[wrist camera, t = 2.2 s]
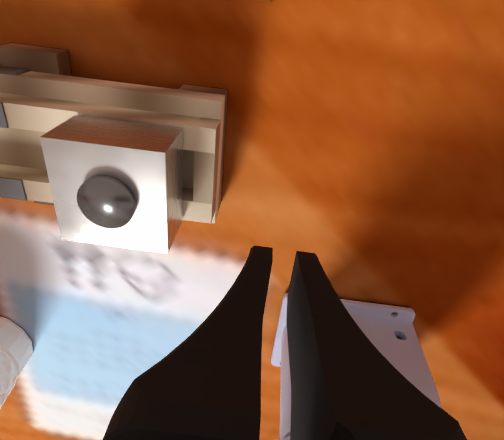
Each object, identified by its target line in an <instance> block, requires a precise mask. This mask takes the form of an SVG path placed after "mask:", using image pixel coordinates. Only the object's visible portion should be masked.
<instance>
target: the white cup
mask: <svg viewBox="0 0 504 440" xmlns="http://www.w3.org/2000/svg"><path fill="white" fill-rule="evenodd" d="M32 354H33V346H32V341H31V339H30V338H29V337H28V335H27V334H26V333H25V331H24V330H23V329H22V328H20V327H19V326H18V325H16V324H15V323H13V322H12V321H10V320H9V319H7V318H4V317H1V316H0V409H1V408H2V406H3V404H4V403H5V401H6V399H7V397H8V396H9V394H10V392H11V390H12V389H13V387H14V385H15V382H16V380H17V378H18V377H19V375H20V373H21V371H22V370H23V368H24V367H25V365H26V364H27V362H28V360H29V359H30V357H31V356H32Z"/></svg>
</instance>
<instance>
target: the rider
mask: <svg viewBox="0 0 504 440" xmlns="http://www.w3.org/2000/svg"><path fill="white" fill-rule="evenodd" d="M40 141H41V145H42V150H43V155H44V159H45V164H46V169H47V174H48V178H49V183H50V188H51V192H52V197H53V202H54V206H55V211H56V216H57V221H58V225H59V230H60V235H61V239H62V240H68V241H75V242H83V243H91V244H98V245H106V246H114V247H121V248H129V249H137V250H144V251H152V252H160V253H167V254H168V252H169V250H170V247H171V245H172V243H173V241H174V238H175V236H176V234H177V232H178V229H179V227H180V225H181V223H182V220H183V128H179V127H171V126H163V125H155V124H147V123H139V122H131V121H123V120H115V119H107V118H99V117H91V116H84V115H74V116H73V117H71V118H70V119H68V120H66V121H65V122H63V123H61V124H60V125H58V126H57V127H55V128H53V129H52V130H50V131H49V132H47V133H45V134H44V135H42V136H40Z"/></svg>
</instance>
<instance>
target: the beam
mask: <svg viewBox="0 0 504 440" xmlns="http://www.w3.org/2000/svg"><path fill="white" fill-rule="evenodd" d="M0 63H1V66H0V197H2V198H10V199H17V200H25V201H26V200H33V201H34V202H35V203H40V204H48V205H54V202H53V197H52V192H51V188H50V183H49V178H48V174H47V169H46V164H45V159H44V155H43V150H42V145H41V141H40V136H42V135H44V134H45V133H47V132H49V131H50V130H52V129H53V128H55V127H57V126H58V125H60V124H61V123H63V122H65V121H66V120H68V119H70V118H71V117H73V116H74V115H84V116H91V117H99V118H107V119H115V120H123V121H131V122H139V123H147V124H155V125H163V126H171V127H179V128H183V220H188V221H196V222H204V223H215V221H216V218H217V214H218V211H219V208H220V204H221V194H222V179H223V164H224V148H225V133H226V117H227V102H228V89H220V88H211V87H203V86H195V85H187V84H183V85H182V86H181V87H180V88H179V89H171V88H163V87H155V86H147V85H139V84H131V83H123V82H115V81H107V80H99V79H91V78H83V77H74V76H72V73H71V67H70V60H69V53H68V50H65V49H57V48H49V47H41V46H32V45H24V44H16V43H9V44H4V45H0Z"/></svg>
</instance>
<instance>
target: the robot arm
mask: <svg viewBox="0 0 504 440" xmlns="http://www.w3.org/2000/svg"><path fill="white" fill-rule="evenodd" d="M271 266H272V248H269V247H261V246H253V247H252V248H251V250H250V253H249V256H248V259H247V261H246V263H245V265H244V267H243V269H242V271H241V272H240V274H239V276H238V277H237V279H236V281H235V282H234V284H233V285H232V287H231V288H230V290H229V291H228V292H227V294H226V295H225V297H224V298H223V299H222V301H221V302H220V303H219V305H218V306H217V307H216V308H215V309H214V311H213V312H212V313H211V314H210V315H209V316H208V318H207V319H206V320H205V321H204V322H203V323H202V324H201V325H200V326H199V327H198V328H197V329H196V330H195V331H194V332H193V333H192V334H191V335H190V336H189V337H188V338H187V339H186V340H185V341H184V342H182V343H181V344H180V345H179V346H178V347H176V348H175V349H174V350H173V351H172V352H171V353H169V354H168V355H167V356H166V357H165V358H163V359H162V360H161V361H159V362H158V363H157V364H155V365H154V366H153V367H151V368H150V369H148V370H147V371H146V372H144V373H143V374H141V375H140V376H139V377H137V378H136V379H135V380H134V381H133V382H132V384H131V385H130V387H129V388H128V390H127V391H126V393H125V394H124V396H123V398H122V399H121V401H120V403H119V404H118V406H117V408H116V410H115V412H114V414H113V416H112V418H111V420H110V423H109V425H108V428H107V430H106V433H105V435H104V438H103V440H259V434H260V417H261V348H262V323H263V314H264V308H265V302H266V296H267V290H268V284H269V278H270V272H271ZM393 312H395V313H393ZM414 318H415V312H414V310H413V309H411V308H406V307H398V306H391V305H383V304H376V303H368V302H360V301H353V300H345V299H340V298H339V297H338V295H337V293H336V292H335V290H334V288H333V287H332V285H331V283H330V281H329V279H328V278H327V276H326V274H325V272H324V270H323V268H322V266H321V264H320V262H319V260H318V257H317V256H316V254H315V253H308V252H300V251H297V252H296V257H295V262H294V266H293V271H292V276H291V281H290V286H289V290H288V293H286V294H285V295H284V296H283V301H282V306H281V311H280V316H279V321H278V326H277V331H276V336H275V341H274V346H273V351H272V356H271V364H272V365H274V366H278V367H281V392H280V439H279V440H467V439H466V437H465V435H464V433H463V431H462V429H461V427H460V425H459V423H458V421H457V420H455V419H454V418H453V417H452V416H450V415H449V414H448V413H447V412H445V411H444V410H443V409H442V408H441V403H440V399H439V395H438V392H437V389H436V386H435V383H434V381H433V378H432V375H431V372H430V370H429V367H428V364H427V362H426V359H425V356H424V353H423V351H422V348H421V345H420V342H419V340H418V337H417V334H416V332H415V329H414V326H413V323H412V322H413V320H414Z"/></svg>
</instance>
